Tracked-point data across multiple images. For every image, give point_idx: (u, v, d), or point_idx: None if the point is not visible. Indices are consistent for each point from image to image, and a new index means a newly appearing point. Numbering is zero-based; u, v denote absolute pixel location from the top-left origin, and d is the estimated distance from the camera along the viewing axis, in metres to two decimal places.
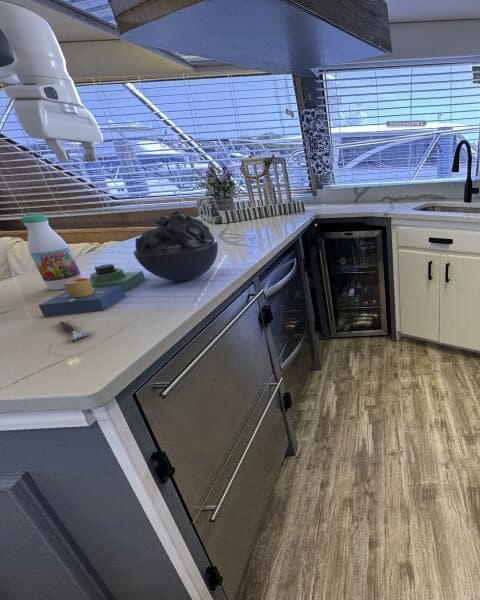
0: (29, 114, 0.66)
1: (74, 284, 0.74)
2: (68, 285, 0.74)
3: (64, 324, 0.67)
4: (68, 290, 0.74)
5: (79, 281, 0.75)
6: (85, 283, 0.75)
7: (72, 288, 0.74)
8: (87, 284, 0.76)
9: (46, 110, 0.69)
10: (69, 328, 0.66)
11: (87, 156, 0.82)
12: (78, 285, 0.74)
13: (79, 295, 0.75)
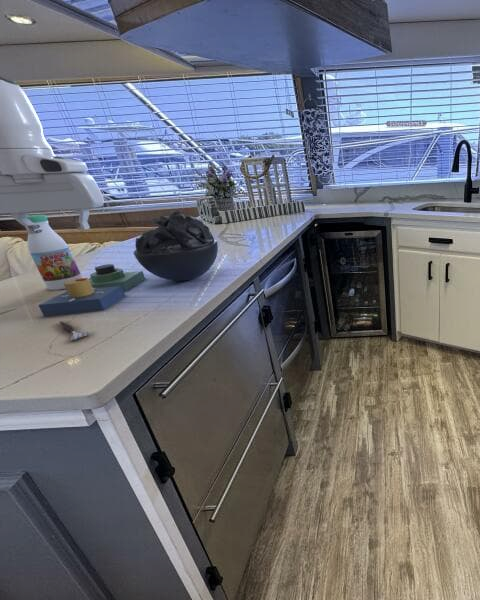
0: (93, 186, 0.71)
1: (74, 284, 0.74)
2: (68, 285, 0.74)
3: (64, 324, 0.67)
4: (68, 290, 0.74)
5: (79, 281, 0.75)
6: (85, 283, 0.75)
7: (72, 288, 0.74)
8: (87, 284, 0.76)
9: None
10: (69, 328, 0.66)
11: (35, 226, 0.71)
12: (78, 285, 0.74)
13: (79, 295, 0.75)
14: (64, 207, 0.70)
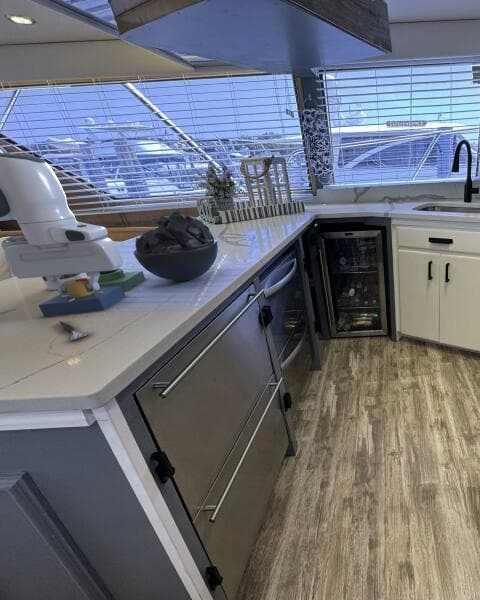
0: (113, 250, 0.75)
1: (74, 284, 0.74)
2: (68, 285, 0.74)
3: (64, 324, 0.67)
4: (68, 290, 0.74)
5: (79, 281, 0.75)
6: (85, 283, 0.75)
7: (72, 288, 0.74)
8: None
9: None
10: (69, 328, 0.66)
11: None
12: (78, 285, 0.74)
13: (79, 295, 0.75)
14: (86, 271, 0.74)
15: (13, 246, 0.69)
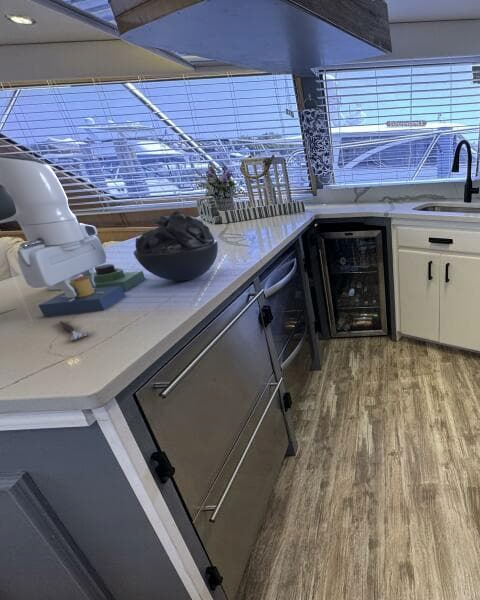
0: None
1: (88, 279, 0.77)
2: (86, 281, 0.76)
3: (64, 324, 0.67)
4: (85, 287, 0.76)
5: (84, 278, 0.77)
6: None
7: (89, 283, 0.77)
8: None
9: None
10: (69, 328, 0.66)
11: None
12: (89, 281, 0.77)
13: (93, 290, 0.78)
14: (92, 266, 0.79)
15: (41, 250, 0.66)
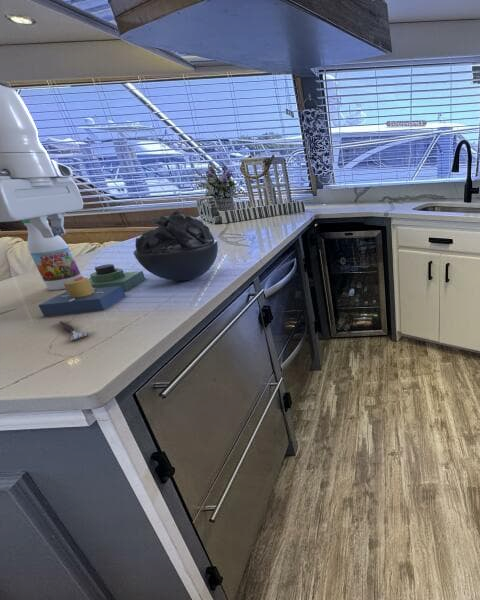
0: None
1: (88, 279, 0.77)
2: (86, 281, 0.76)
3: (64, 324, 0.67)
4: (85, 287, 0.76)
5: (84, 278, 0.77)
6: None
7: (89, 283, 0.77)
8: None
9: None
10: (69, 328, 0.66)
11: None
12: (89, 281, 0.77)
13: (93, 290, 0.78)
14: (67, 209, 0.73)
15: (6, 180, 0.60)
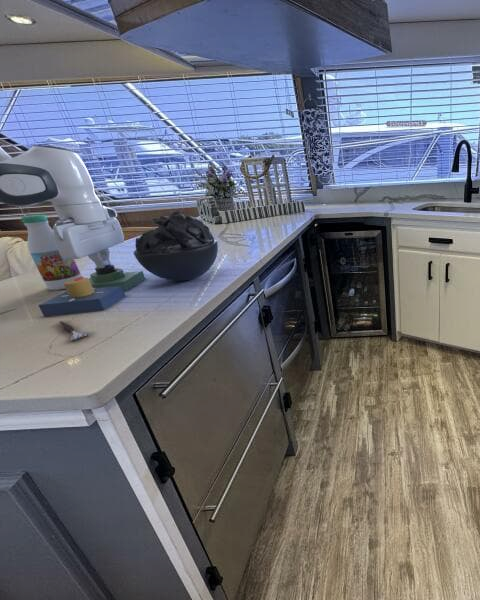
0: None
1: (88, 279, 0.77)
2: (86, 281, 0.76)
3: (64, 324, 0.67)
4: (85, 287, 0.76)
5: (84, 278, 0.77)
6: None
7: (89, 283, 0.77)
8: None
9: None
10: (69, 328, 0.66)
11: None
12: (89, 281, 0.77)
13: (93, 290, 0.78)
14: (113, 244, 0.90)
15: (72, 227, 0.77)
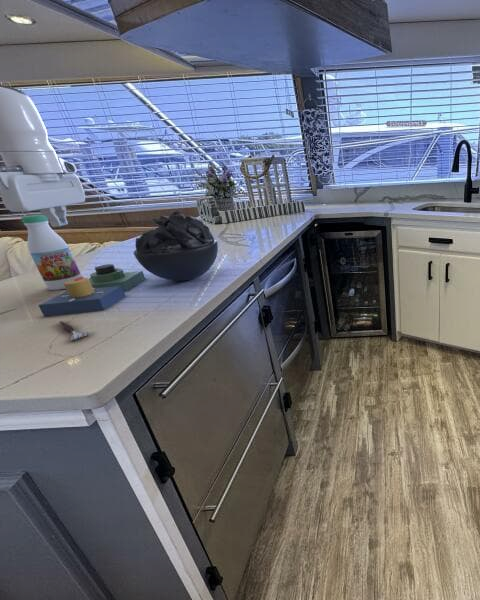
0: None
1: (88, 279, 0.77)
2: (86, 281, 0.76)
3: (64, 324, 0.67)
4: (85, 287, 0.76)
5: (84, 278, 0.77)
6: None
7: (89, 283, 0.77)
8: None
9: None
10: (69, 328, 0.66)
11: None
12: (89, 281, 0.77)
13: (93, 290, 0.78)
14: (71, 202, 0.82)
15: (20, 175, 0.69)
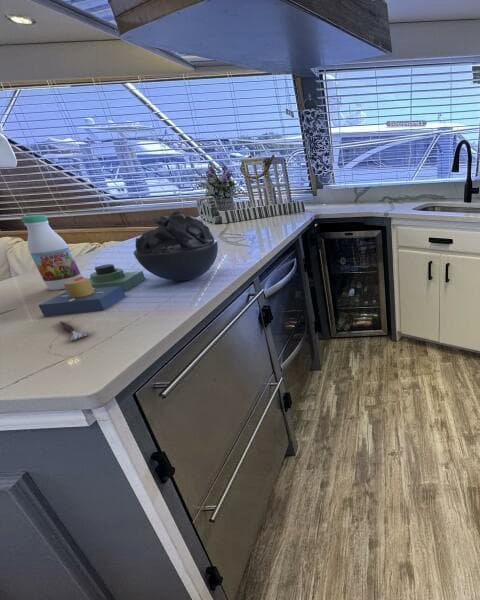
0: None
1: (88, 279, 0.77)
2: (86, 281, 0.76)
3: (64, 324, 0.67)
4: (85, 287, 0.76)
5: (84, 278, 0.77)
6: None
7: (89, 283, 0.77)
8: None
9: None
10: (69, 328, 0.66)
11: None
12: (89, 281, 0.77)
13: (93, 290, 0.78)
14: None
15: None
